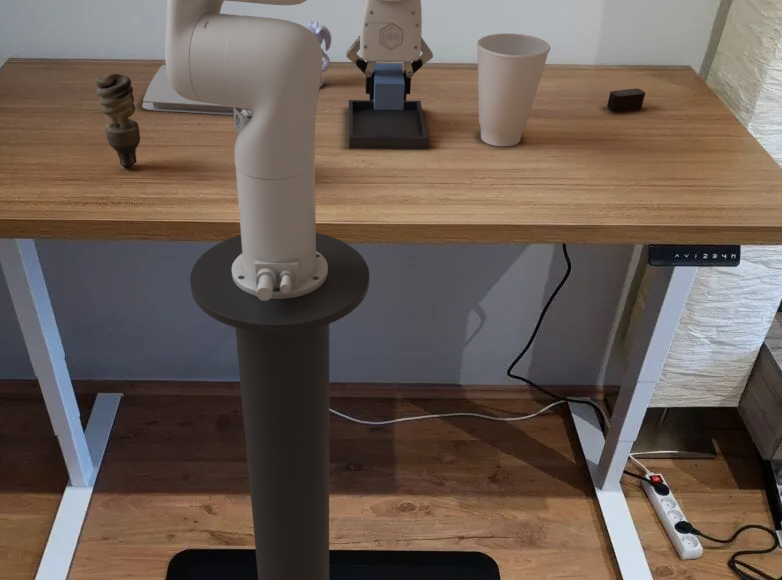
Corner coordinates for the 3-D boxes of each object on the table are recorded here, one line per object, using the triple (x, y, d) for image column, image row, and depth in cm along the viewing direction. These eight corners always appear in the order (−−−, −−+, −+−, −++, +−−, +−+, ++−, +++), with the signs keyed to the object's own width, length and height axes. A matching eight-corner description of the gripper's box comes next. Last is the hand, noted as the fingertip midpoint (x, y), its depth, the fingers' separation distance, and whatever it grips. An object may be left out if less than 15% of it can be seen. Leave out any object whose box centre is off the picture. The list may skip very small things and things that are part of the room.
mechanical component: (256, 191, 125) (252, 129, 119) (235, 165, 132) (230, 105, 126) (274, 187, 126) (271, 125, 120) (252, 162, 133) (248, 102, 127)
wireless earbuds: (646, 110, 152) (650, 92, 150) (613, 113, 150) (617, 96, 148) (632, 101, 155) (636, 84, 153) (599, 105, 154) (603, 88, 152)
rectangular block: (403, 110, 137) (404, 83, 135) (374, 109, 137) (375, 83, 135) (400, 88, 145) (401, 63, 142) (372, 88, 145) (373, 63, 142)
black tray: (427, 148, 138) (427, 138, 137) (349, 148, 138) (349, 137, 137) (419, 110, 151) (420, 100, 150) (348, 109, 151) (348, 99, 150)
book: (161, 81, 162) (159, 61, 160) (273, 87, 160) (272, 67, 158) (137, 109, 151) (134, 88, 148) (257, 116, 148) (256, 95, 146)
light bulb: (103, 170, 131) (85, 76, 121) (124, 157, 134) (108, 65, 125) (131, 177, 129) (116, 82, 119) (152, 163, 133) (138, 71, 123)
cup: (487, 156, 135) (500, 59, 125) (454, 130, 144) (464, 37, 134) (547, 146, 139) (565, 50, 129) (511, 121, 147) (525, 30, 137)
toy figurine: (289, 83, 162) (287, 20, 154) (314, 76, 165) (313, 14, 157) (309, 92, 158) (308, 28, 150) (335, 86, 161) (335, 22, 153)
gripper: (339, -9, 127) (339, 105, 138) (447, -8, 126) (437, 106, 138) (340, -21, 132) (339, 89, 144) (443, -20, 132) (434, 90, 144)
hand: (387, 96), depth 141 cm, fingers closed on rectangular block, 5 cm apart
